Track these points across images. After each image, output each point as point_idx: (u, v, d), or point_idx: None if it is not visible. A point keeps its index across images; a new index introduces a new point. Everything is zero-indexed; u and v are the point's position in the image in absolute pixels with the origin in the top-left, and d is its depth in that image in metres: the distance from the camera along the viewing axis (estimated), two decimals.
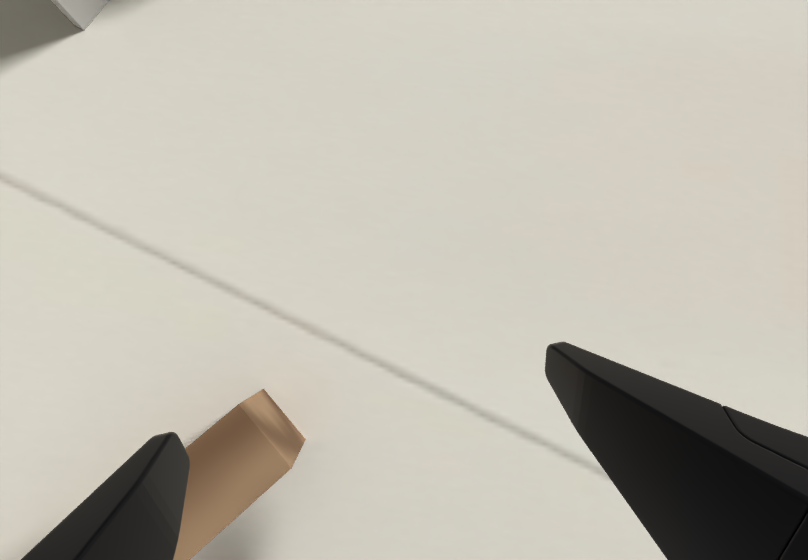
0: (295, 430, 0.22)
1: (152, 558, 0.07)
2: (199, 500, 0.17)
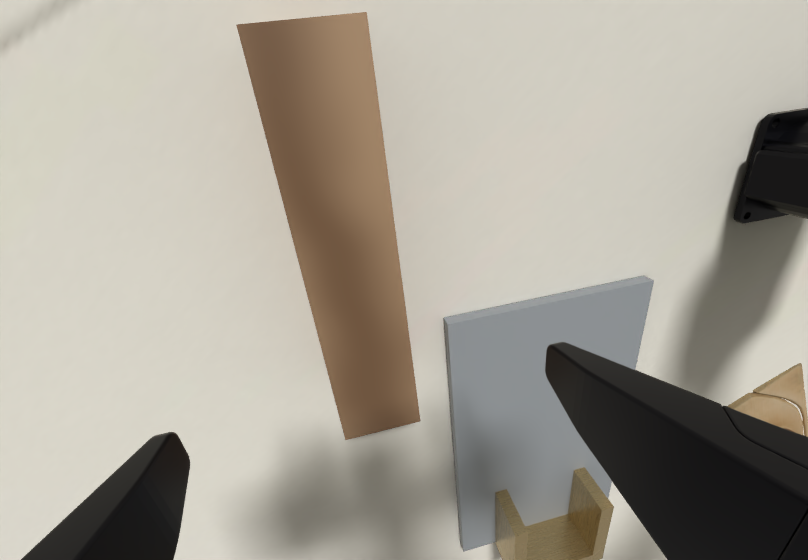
0: None
1: (152, 558, 0.07)
2: (336, 149, 0.13)
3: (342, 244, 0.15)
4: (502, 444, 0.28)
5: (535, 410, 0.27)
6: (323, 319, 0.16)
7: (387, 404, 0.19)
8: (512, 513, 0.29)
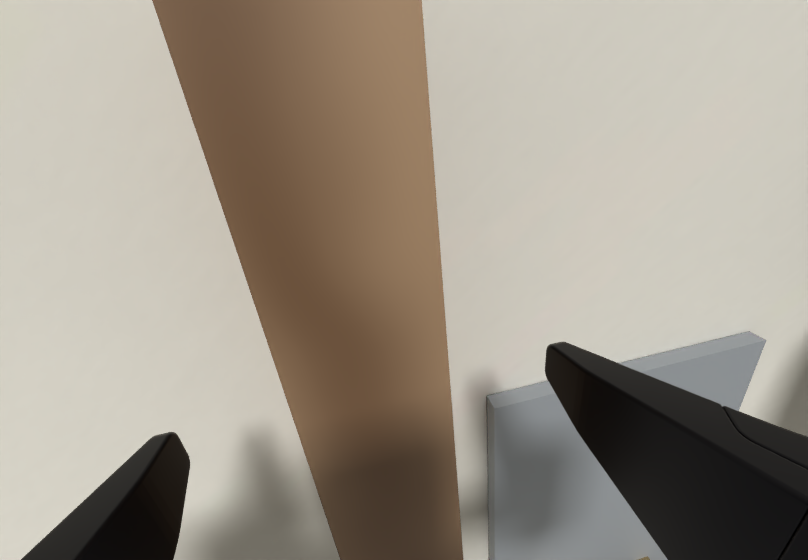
0: None
1: (152, 558, 0.07)
2: (346, 185, 0.07)
3: (354, 342, 0.09)
4: (552, 541, 0.22)
5: (597, 500, 0.21)
6: (322, 454, 0.10)
7: (417, 553, 0.13)
8: None
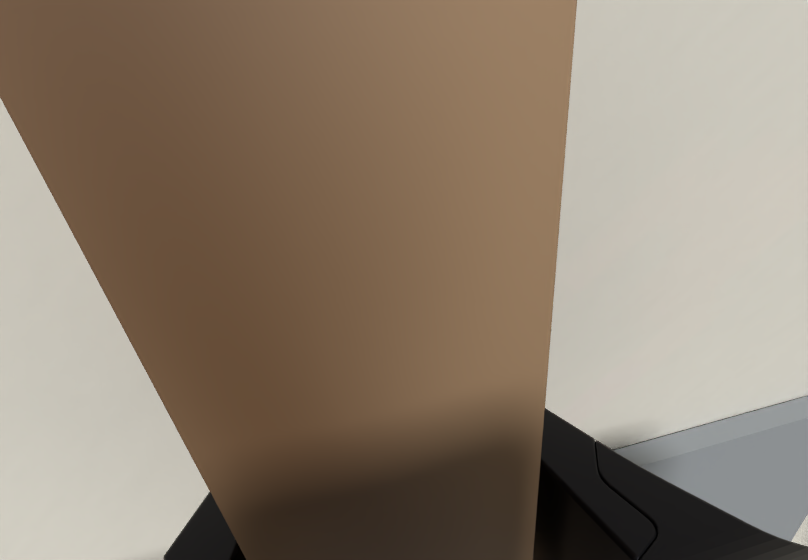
0: None
1: None
2: (387, 269, 0.03)
3: (387, 516, 0.05)
4: None
5: None
6: None
7: None
8: None
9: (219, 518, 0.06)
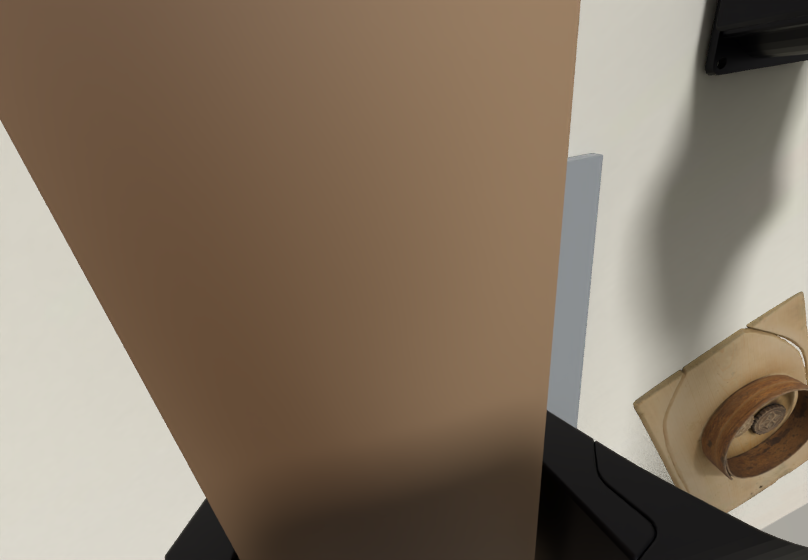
0: None
1: None
2: (385, 269, 0.03)
3: (386, 521, 0.05)
4: None
5: None
6: None
7: None
8: None
9: None
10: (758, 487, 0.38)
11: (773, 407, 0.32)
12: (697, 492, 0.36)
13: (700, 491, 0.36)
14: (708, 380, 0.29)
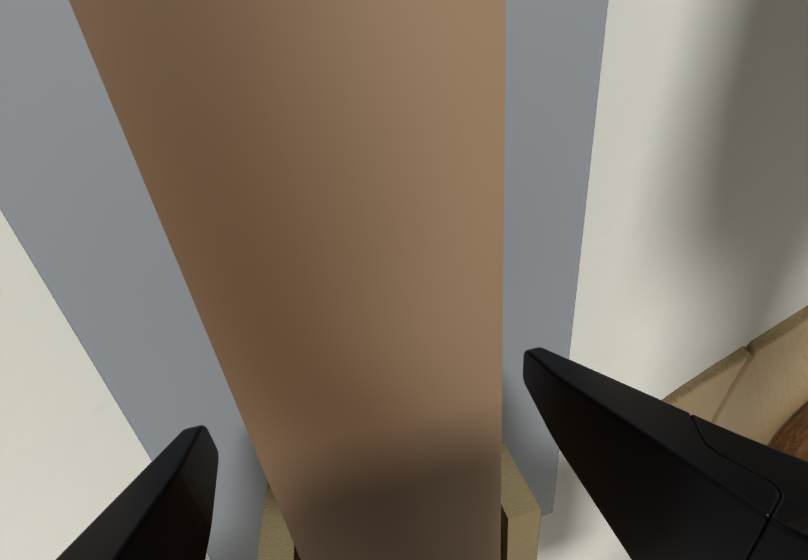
0: None
1: (189, 548, 0.07)
2: (373, 228, 0.05)
3: (377, 439, 0.06)
4: None
5: None
6: None
7: None
8: (281, 526, 0.11)
9: (90, 552, 0.05)
10: None
11: None
12: None
13: None
14: (787, 367, 0.17)
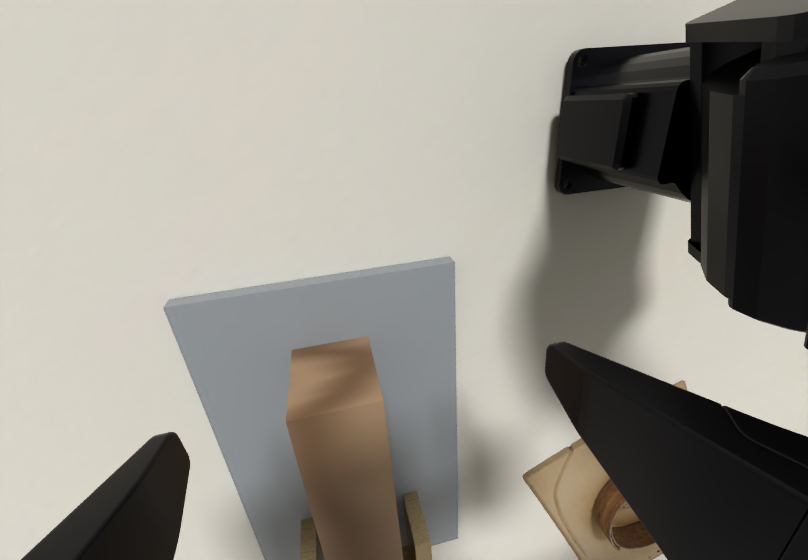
0: (353, 345, 0.19)
1: (152, 558, 0.07)
2: (354, 474, 0.17)
3: (354, 523, 0.19)
4: (293, 463, 0.23)
5: None
6: None
7: None
8: (309, 548, 0.23)
9: None
10: (656, 551, 0.40)
11: None
12: (594, 556, 0.37)
13: (597, 555, 0.37)
14: None
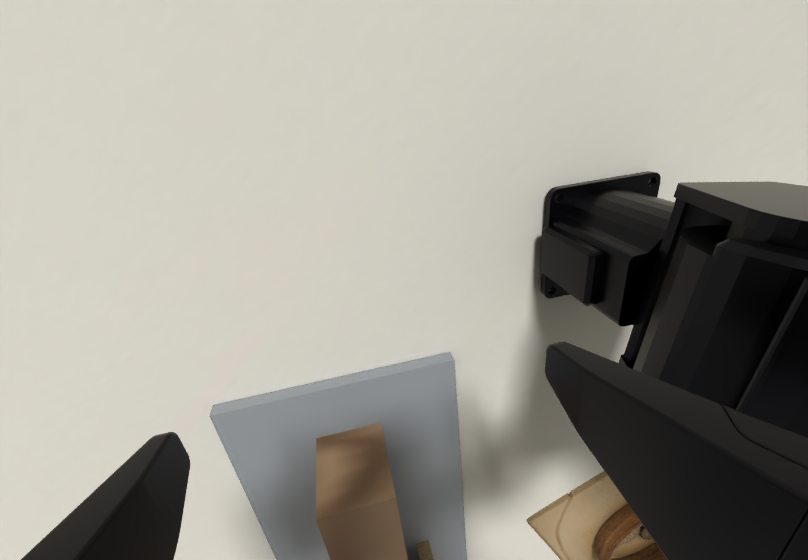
0: (368, 434, 0.22)
1: (152, 558, 0.07)
2: (373, 552, 0.20)
3: None
4: None
5: None
6: None
7: None
8: None
9: None
10: None
11: None
12: None
13: None
14: (593, 501, 0.33)
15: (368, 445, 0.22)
